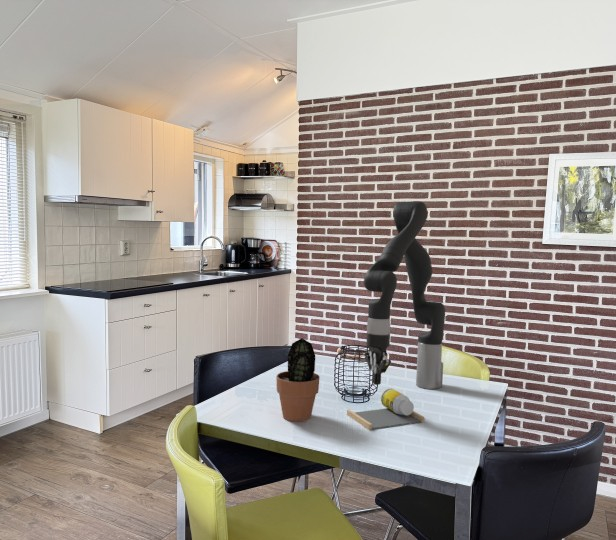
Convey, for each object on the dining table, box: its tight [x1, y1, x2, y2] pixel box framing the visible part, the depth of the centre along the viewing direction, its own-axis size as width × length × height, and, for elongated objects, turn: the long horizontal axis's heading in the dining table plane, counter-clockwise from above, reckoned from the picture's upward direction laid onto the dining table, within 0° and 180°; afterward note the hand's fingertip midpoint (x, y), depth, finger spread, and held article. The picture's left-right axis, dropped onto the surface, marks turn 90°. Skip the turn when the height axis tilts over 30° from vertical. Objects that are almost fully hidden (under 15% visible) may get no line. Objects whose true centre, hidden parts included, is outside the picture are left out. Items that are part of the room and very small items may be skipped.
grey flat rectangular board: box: [346, 407, 425, 431], centre depth 163 cm, size 20×14×2 cm
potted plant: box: [275, 337, 320, 423], centre depth 161 cm, size 14×14×25 cm
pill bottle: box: [380, 388, 415, 415], centre depth 168 cm, size 6×6×12 cm
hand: (376, 384), depth 168 cm, fingers closed
